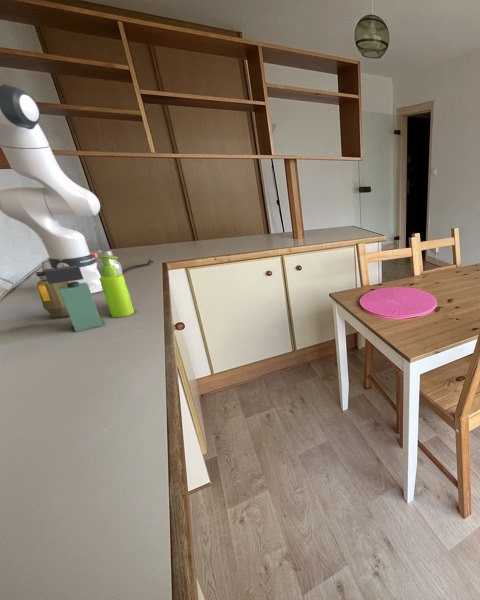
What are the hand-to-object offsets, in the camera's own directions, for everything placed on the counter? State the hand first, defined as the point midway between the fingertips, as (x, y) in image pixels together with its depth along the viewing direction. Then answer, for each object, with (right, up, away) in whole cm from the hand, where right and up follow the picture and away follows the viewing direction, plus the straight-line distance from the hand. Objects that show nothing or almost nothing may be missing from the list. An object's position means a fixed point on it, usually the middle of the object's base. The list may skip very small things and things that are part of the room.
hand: (11, 286), depth 83 cm
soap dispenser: (+11, -9, +22) cm, 26 cm away
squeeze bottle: (-8, -9, +21) cm, 24 cm away
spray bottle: (+6, -12, +12) cm, 18 cm away
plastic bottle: (+4, -6, +28) cm, 29 cm away
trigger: (+3, -3, +5) cm, 7 cm away
